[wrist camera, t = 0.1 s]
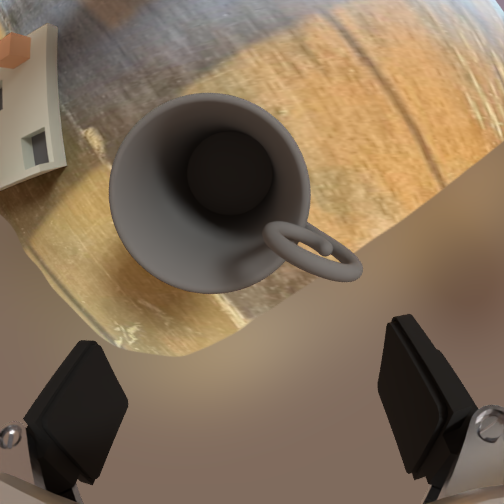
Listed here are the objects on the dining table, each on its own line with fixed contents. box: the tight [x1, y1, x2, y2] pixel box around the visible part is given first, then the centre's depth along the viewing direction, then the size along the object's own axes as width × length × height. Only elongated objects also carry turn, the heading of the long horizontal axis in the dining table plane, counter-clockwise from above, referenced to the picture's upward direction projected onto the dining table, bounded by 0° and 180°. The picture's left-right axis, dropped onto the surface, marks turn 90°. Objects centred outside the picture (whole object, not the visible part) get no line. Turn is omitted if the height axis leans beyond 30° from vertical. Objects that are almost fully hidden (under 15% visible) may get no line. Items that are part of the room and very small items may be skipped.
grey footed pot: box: [109, 93, 363, 294], centre depth 25 cm, size 19×15×25 cm
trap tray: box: [0, 23, 67, 191], centre depth 30 cm, size 24×17×6 cm
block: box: [0, 32, 31, 69], centre depth 25 cm, size 4×4×5 cm
